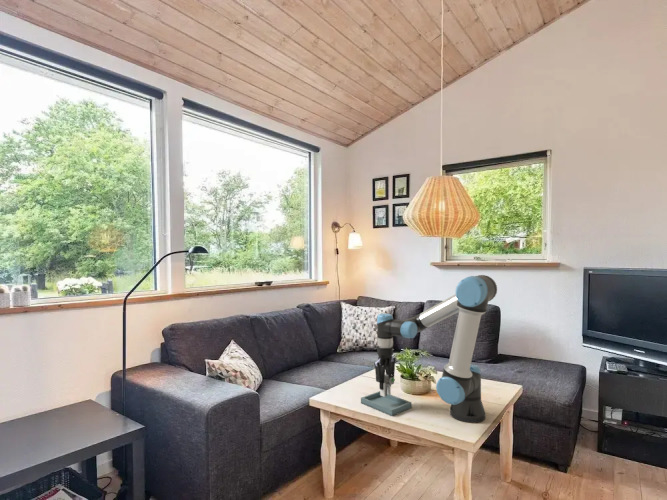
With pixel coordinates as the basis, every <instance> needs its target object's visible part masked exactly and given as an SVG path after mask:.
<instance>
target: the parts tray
mask: <svg viewBox="0 0 667 500" xmlns="http://www.w3.org/2000/svg"><path fill="white" fill-rule="evenodd" d="M360 403H361V404H362V405H365V406H367V407H369V408H372V409H374V410H376V411H378V412H381V413H383V414H386V415H388V416H390V417H394V416H396V415H398V414H401V413H403V412H405V411H408V410H409V409H412V406H413V405H412V402H411V401H409V400H406V399H404V398H400V397H399V396H398V397H397V396H395V395H393V394H391V395H388V394H387V396H386V397H383V396H381V395H380V390H378V391H377V392H373V393H371V394H368V395H365V396H362V397H360Z"/></svg>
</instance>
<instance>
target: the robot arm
mask: <svg viewBox="0 0 667 500" xmlns="http://www.w3.org/2000/svg"><path fill="white" fill-rule="evenodd" d="M455 287H456V288H455V294H454V295H452V296H450V297H448V298H446V299H445V300H443V301H441V302H439V303H437V304H435V305H434V306H431V307H429V308H428V309H426V310H424V311H423V312H421V313H419V314H417V315H415V316H413V317H411V318H406V319H403V320H402V319H401V320H400V319H394V317H393V314H390V313H380V314H378V315H377V317H376V318H377V319H376V329H377V330H376V334H377V335H376V336H377V337H376V338H377V339H376V342H377V343H376V345H377V347H376V353H377V355H378V358H377V361H374V362H373V365H374V367H375V368H374V369H375V381H376V382H377V383H379V391H380V395H381V396H383V397H385V383H384V377H385V374H386V375H388V377H389V379H390V378H391V377H393V378H394V379H395V368H396V367H395V366H396V361H397V358H396V357H394V356H393V355H394V336H395V337H400V338H404V339H405V338H406V339H414V338H415V337H416V336H417V334H418V333H421V332H423V331H425V330H426V329H428V328H430V327H431V326H434V325H435V324H437V323H440V322H441V321H443V320H445V319H447V318H450V317H451V316H454V315H455V314H458V316H457V321H456V327H455V329H454V336H453V341H452V345H451V350H450V355H449V360H448V363H446V364H445V365H444V366H443V369H442V375H441V377H440V378H438V380H437V382H436V385H435V388H436V393H437V394H438V396H439V398H440V399H441V400H442V401H443V402H444V403H446V404H448V405H450V406H449V407H450V408H449V414H450V415H449V416H450V417H452V418H453V419H455V420H458V421H460V422H465V423H472V424H473V423H474V424H475V423H481V422H483V421H485V420H486V411H485V407H484V404H483V401H482V373H481V368H480V366H479V365H477V364H473V363H472V360H473V356H474V350H475V346H476V341H477V337H478V333H479V327H480V323H481V318H482V315H484V314H486V313H487V310H488V309H487V308H488V304H489V302H491V301H492V300H493V299H494V298H495V297H496V296H497V293H498V287H497V283H496V282H495V280H494V279H493V278H492V277H491V276H488V275H485V274H480V275H471V276H467V277H465V278H463V279H461V280H460V281H459V282H458V283H457V285H456V286H455ZM389 383H390V382H389ZM391 387H392V385H390V386H388V387H387V394H388V395H392V394H391V393H392V392H391V389H392V388H391Z"/></svg>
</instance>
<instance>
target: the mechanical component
mask: <svg viewBox="0 0 667 500" xmlns="http://www.w3.org/2000/svg"><path fill="white" fill-rule="evenodd" d="M395 380H396V379H395V377H394V378H393V377H391V378H390V379H389V377H388V375H386V373H385V377H384V383H385V397H386V396H387V387H388V386H390V385H391V386H392V385H394V384H395ZM389 382H390V383H389Z"/></svg>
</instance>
